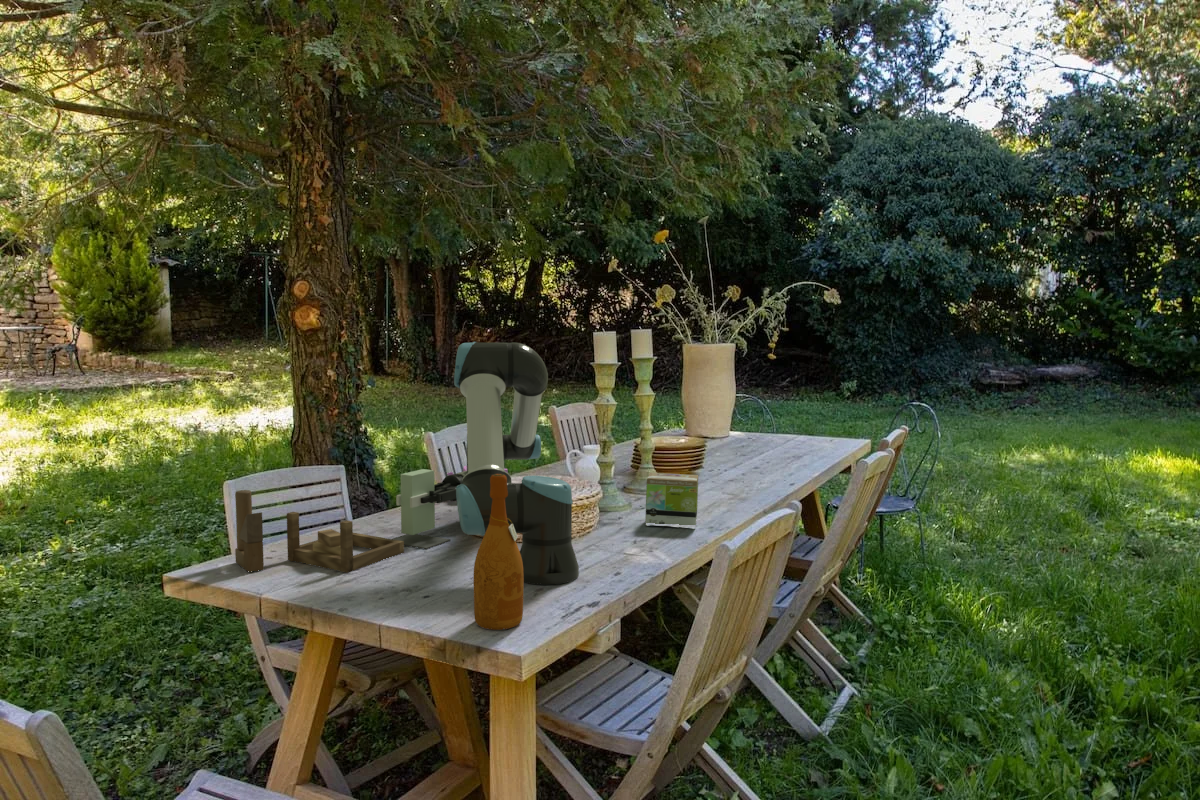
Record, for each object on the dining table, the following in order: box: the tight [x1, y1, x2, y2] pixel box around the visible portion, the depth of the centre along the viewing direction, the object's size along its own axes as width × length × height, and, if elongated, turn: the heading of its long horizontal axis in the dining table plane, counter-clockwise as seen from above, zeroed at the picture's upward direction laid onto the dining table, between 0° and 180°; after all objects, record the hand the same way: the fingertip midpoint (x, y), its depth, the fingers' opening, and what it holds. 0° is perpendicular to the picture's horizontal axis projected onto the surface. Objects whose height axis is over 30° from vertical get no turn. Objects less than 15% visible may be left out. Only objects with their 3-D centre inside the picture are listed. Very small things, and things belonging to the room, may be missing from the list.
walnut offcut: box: [317, 528, 340, 547], centre depth 201 cm, size 7×4×3 cm, turn 43°
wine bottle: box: [473, 474, 525, 631], centre depth 161 cm, size 10×10×30 cm
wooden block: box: [234, 489, 265, 573], centre depth 197 cm, size 4×11×18 cm, turn 39°
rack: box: [286, 511, 405, 574], centre depth 207 cm, size 20×20×12 cm
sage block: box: [400, 468, 436, 535], centre depth 221 cm, size 4×9×16 cm, turn 152°
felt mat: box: [392, 533, 451, 550], centre depth 222 cm, size 14×10×1 cm
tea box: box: [645, 472, 699, 525], centre depth 243 cm, size 15×10×15 cm, turn 81°
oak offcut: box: [313, 542, 341, 556], centre depth 202 cm, size 8×4×3 cm, turn 72°
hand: (404, 501), depth 216 cm, fingers closed on sage block, 4 cm apart
